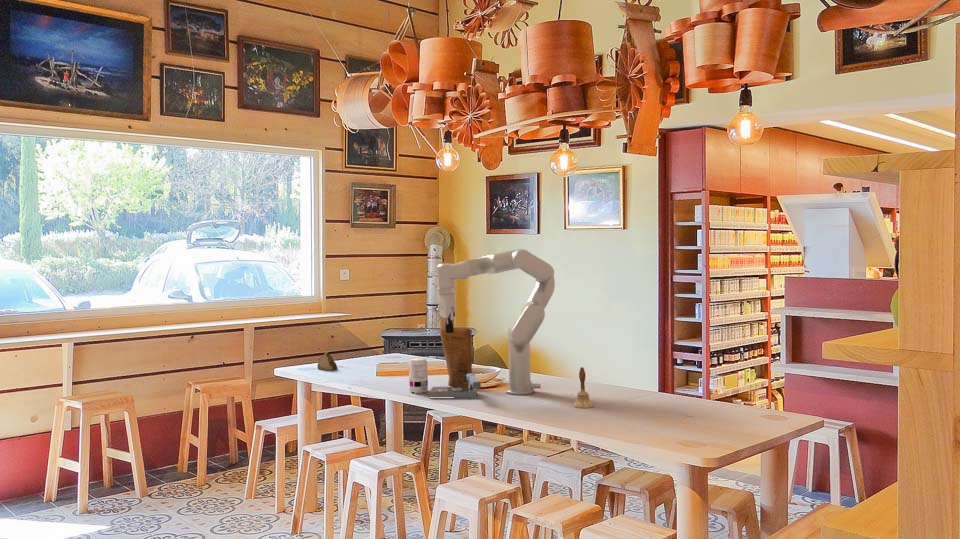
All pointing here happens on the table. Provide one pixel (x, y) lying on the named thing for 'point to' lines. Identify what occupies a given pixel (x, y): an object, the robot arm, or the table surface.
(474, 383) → the bar
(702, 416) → the table surface
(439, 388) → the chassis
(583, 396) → the hand bell
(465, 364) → the pancake mix bag
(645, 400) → the table surface
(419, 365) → the supplement can
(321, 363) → the rock
